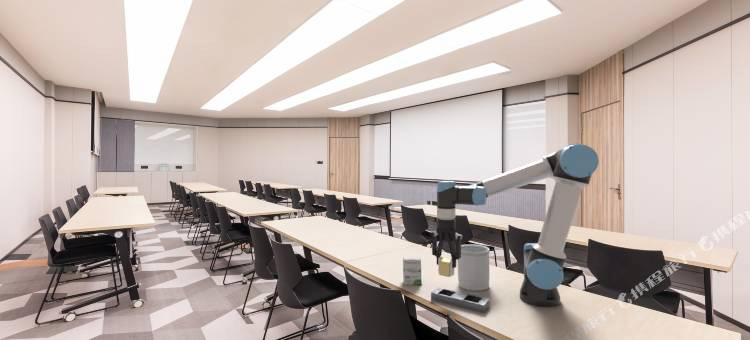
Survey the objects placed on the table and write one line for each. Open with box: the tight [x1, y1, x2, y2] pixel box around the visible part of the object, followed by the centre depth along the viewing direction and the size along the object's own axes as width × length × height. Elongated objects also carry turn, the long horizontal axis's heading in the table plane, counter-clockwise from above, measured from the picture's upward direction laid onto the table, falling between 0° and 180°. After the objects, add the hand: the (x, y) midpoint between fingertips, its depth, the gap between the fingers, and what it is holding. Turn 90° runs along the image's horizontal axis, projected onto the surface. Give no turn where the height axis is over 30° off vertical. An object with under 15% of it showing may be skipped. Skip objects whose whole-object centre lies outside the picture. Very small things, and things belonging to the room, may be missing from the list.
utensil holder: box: [457, 243, 490, 292], centre depth 153 cm, size 15×15×18 cm
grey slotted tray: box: [430, 286, 491, 314], centre depth 134 cm, size 22×7×3 cm, turn 54°
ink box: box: [402, 256, 422, 286], centre depth 157 cm, size 9×5×12 cm, turn 84°
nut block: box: [438, 257, 452, 278], centre depth 137 cm, size 4×4×6 cm
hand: (446, 273), depth 137 cm, fingers closed on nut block, 4 cm apart
